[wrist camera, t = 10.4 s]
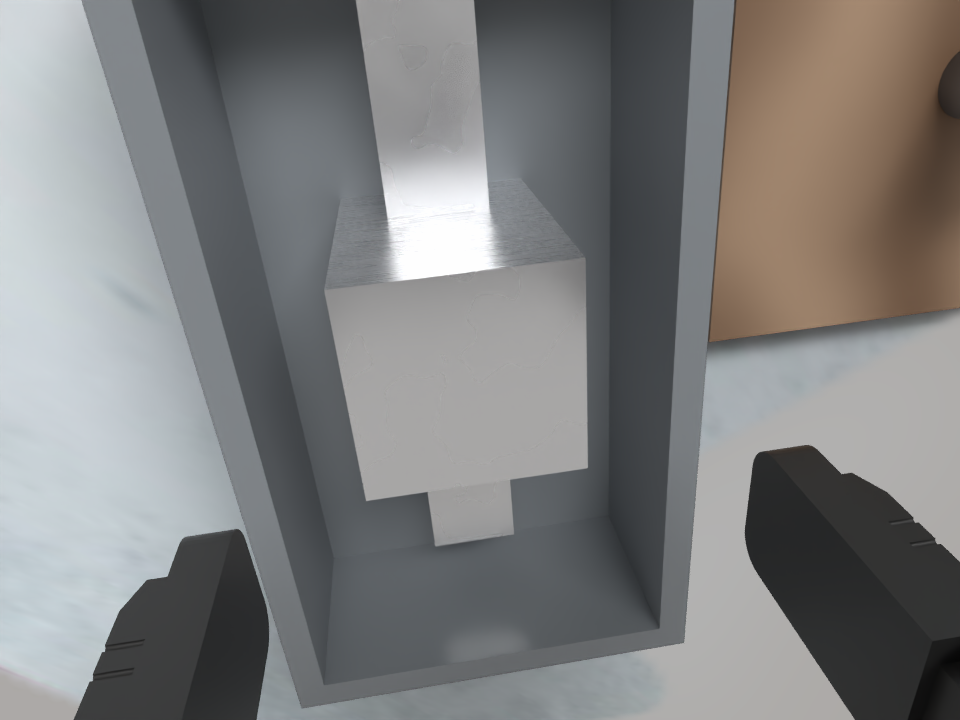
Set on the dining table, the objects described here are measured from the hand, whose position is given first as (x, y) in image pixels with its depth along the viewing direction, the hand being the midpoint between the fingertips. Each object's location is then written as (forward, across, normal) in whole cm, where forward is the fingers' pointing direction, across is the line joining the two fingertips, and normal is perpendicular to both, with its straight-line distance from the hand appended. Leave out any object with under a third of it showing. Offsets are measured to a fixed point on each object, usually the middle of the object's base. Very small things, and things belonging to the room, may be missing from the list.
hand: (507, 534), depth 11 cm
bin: (+12, 0, 0) cm, 12 cm away
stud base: (+12, -15, -4) cm, 20 cm away
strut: (+11, 0, 0) cm, 11 cm away
